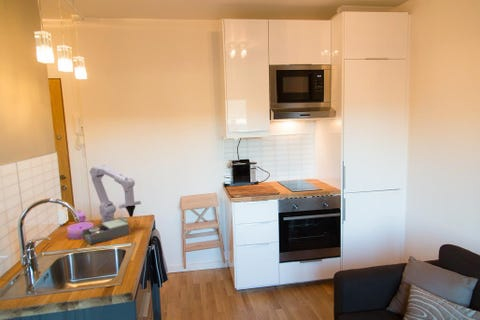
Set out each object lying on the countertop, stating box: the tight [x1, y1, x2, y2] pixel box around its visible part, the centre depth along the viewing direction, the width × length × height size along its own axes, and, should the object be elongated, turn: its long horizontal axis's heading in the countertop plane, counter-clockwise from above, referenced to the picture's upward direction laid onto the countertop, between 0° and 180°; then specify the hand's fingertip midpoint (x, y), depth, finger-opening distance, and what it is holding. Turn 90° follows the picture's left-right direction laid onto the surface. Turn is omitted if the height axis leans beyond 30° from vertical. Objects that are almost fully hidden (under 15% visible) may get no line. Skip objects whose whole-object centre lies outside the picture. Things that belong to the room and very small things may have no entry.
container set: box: [66, 210, 94, 240], centre depth 206 cm, size 25×15×13 cm, turn 28°
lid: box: [101, 215, 130, 229], centre depth 201 cm, size 14×12×3 cm
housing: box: [82, 224, 130, 246], centre depth 197 cm, size 14×24×6 cm, turn 133°
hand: (131, 216), depth 208 cm, fingers closed
